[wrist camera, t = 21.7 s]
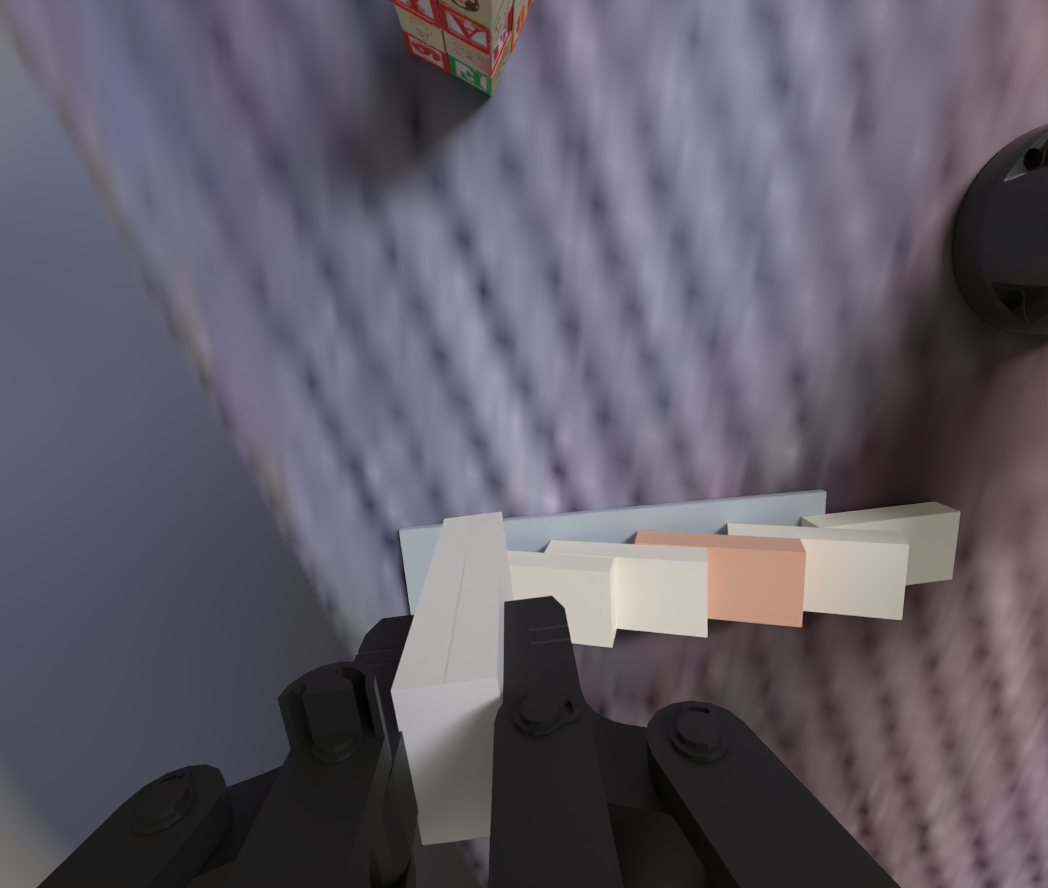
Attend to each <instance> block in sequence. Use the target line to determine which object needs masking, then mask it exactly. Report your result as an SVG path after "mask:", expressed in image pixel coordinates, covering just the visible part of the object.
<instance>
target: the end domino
mask: <svg viewBox="0 0 1048 888" xmlns="http://www.w3.org/2000/svg"><path fill="white" fill-rule="evenodd" d="M507 553H508V561H509V568H510V575H511V583H512V590H513V597H514V600H521V599H529V598H537V597H545V596H553V597H554V598H555V599H556V600H557V601H558V602H559V603H560V604H561V605H562V606H563V607H564V608H565V612H566V617H567V622H568V627H569V632H570V637H571V642H572V643H576V644H585V645H593V646H602V647H610V648H612V647H613V643H614V638H615V634H616V630H617V625H616V595H615V564H614V558H613V557H598V556H583V555H568V554H553V553H538V552H524V551H509V550H507Z"/></svg>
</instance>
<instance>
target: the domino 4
mask: <svg viewBox="0 0 1048 888" xmlns="http://www.w3.org/2000/svg"><path fill="white" fill-rule="evenodd" d="M960 513H961V511H958V510H956V509H953V508H951V507H948V506H945V505H943V504H940V503H938V502H927V503H918V504H909V505H901V506H892V507H883V508H875V509H866V510H857V511H849V512H840V513H831V514H822V515H814V516H805V517H802V519H801V527H818V528H839V529H859V530H880V531H898V532H899V533H900V534H901V535H902V536H903V538H904V539H905V540H906V541H907V543H908V544H909V553H908V563H907V573H906V584H905V585H912V584H920V583H927V582H935V581H943V580H951V579H952V576H953V568H954V560H955V552H956V544H957V537H958V529H959V521H960Z"/></svg>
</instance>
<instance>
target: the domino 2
mask: <svg viewBox="0 0 1048 888" xmlns="http://www.w3.org/2000/svg"><path fill="white" fill-rule="evenodd" d="M635 544H638V545H657V546H677V547H697V548H707V560H708V613H707V619H718V620H729V621H739V622H750V623H760V624H771V625H782V626H792V627H802V618H803V600H804V583H805V565H806V551H805V549H804V547H803V544H802V542H801V540H800V539H798V538H777V537H757V536H737V535H717V534H696V533H676V532H656V531H637V535H636V540H635Z"/></svg>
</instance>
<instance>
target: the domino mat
mask: <svg viewBox="0 0 1048 888" xmlns="http://www.w3.org/2000/svg"><path fill="white" fill-rule="evenodd" d="M825 507H826V491H824V490H822V489H820V490H809V491H798V492H787V493H776V494H765V495H754V496H743V497H732V498H721V499H710V500H699V501H688V502H677V503H666V504H655V505H644V506H633V507H622V508H611V509H600V510H589V511H578V512H567V513H556V514H545V515H534V516H523V517H512V518H503V524H504V532H505V539H506V546H507V550H509V551H524V552H538V553H544V552H545V550H546V548H547V547H548V545H549V543H550V542H551V540H560V541H579V542H599V543H618V544H635V540H636V535H637V531H656V532H676V533H696V534H717V535H727V523H736V524H757V525H777V526H798V527H801V519H802V517H805V516H814V515H822V514H825ZM442 525H443V524H435V525H424V526H413V527H402V528H400V529H399V534H400V541H401V548H402V555H403V563H404V570H405V577H406V584H407V591H408V598H409V605H410V612H411V615H415V612H416V608H417V605H418V602H419V599H420V596H421V592H422V589H423V586H424V583H425V580H426V576H427V573H428V570H429V567H430V564H431V560H432V557H433V554H434V551H435V548H436V544H437V541H438V538H439V535H440V532H441V528H442Z"/></svg>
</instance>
